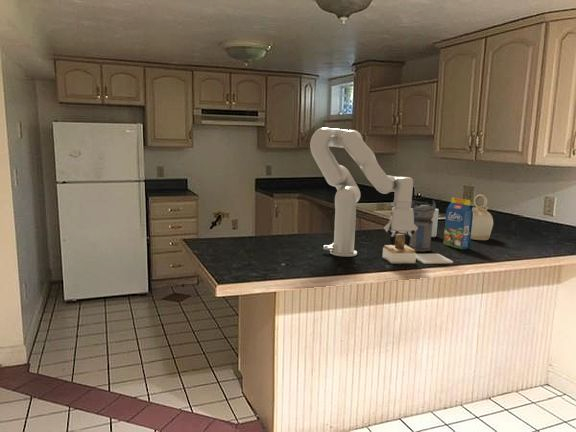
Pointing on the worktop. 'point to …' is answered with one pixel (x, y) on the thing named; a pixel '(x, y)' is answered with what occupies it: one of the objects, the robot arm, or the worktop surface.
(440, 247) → the worktop surface
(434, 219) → the skincare box
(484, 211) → the jug
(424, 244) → the beverage bottle
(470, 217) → the blue food package
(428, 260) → the box
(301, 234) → the worktop surface
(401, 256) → the dish
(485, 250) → the worktop surface
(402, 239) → the lid
